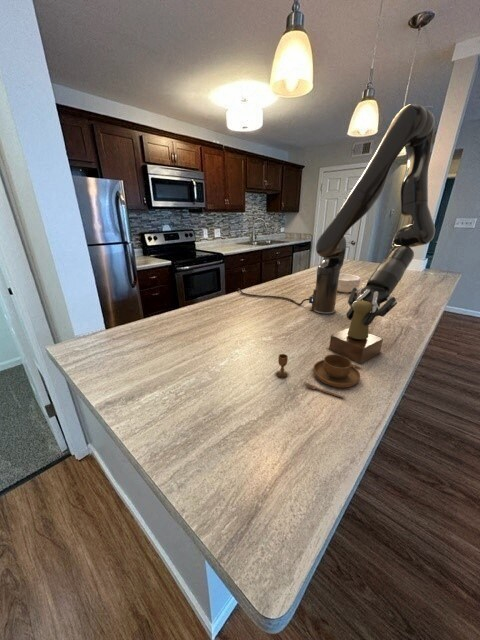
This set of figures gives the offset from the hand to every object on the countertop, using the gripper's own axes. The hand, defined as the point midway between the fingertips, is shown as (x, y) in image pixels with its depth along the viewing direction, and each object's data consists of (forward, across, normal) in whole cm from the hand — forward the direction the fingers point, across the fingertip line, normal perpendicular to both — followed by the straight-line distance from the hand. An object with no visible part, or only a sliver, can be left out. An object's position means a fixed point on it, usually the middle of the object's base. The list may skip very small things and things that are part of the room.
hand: (356, 321), depth 79 cm
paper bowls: (-34, -46, +49) cm, 75 cm away
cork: (+2, 0, +5) cm, 6 cm away
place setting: (+20, +2, -4) cm, 20 cm away
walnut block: (+6, 0, +9) cm, 11 cm away
